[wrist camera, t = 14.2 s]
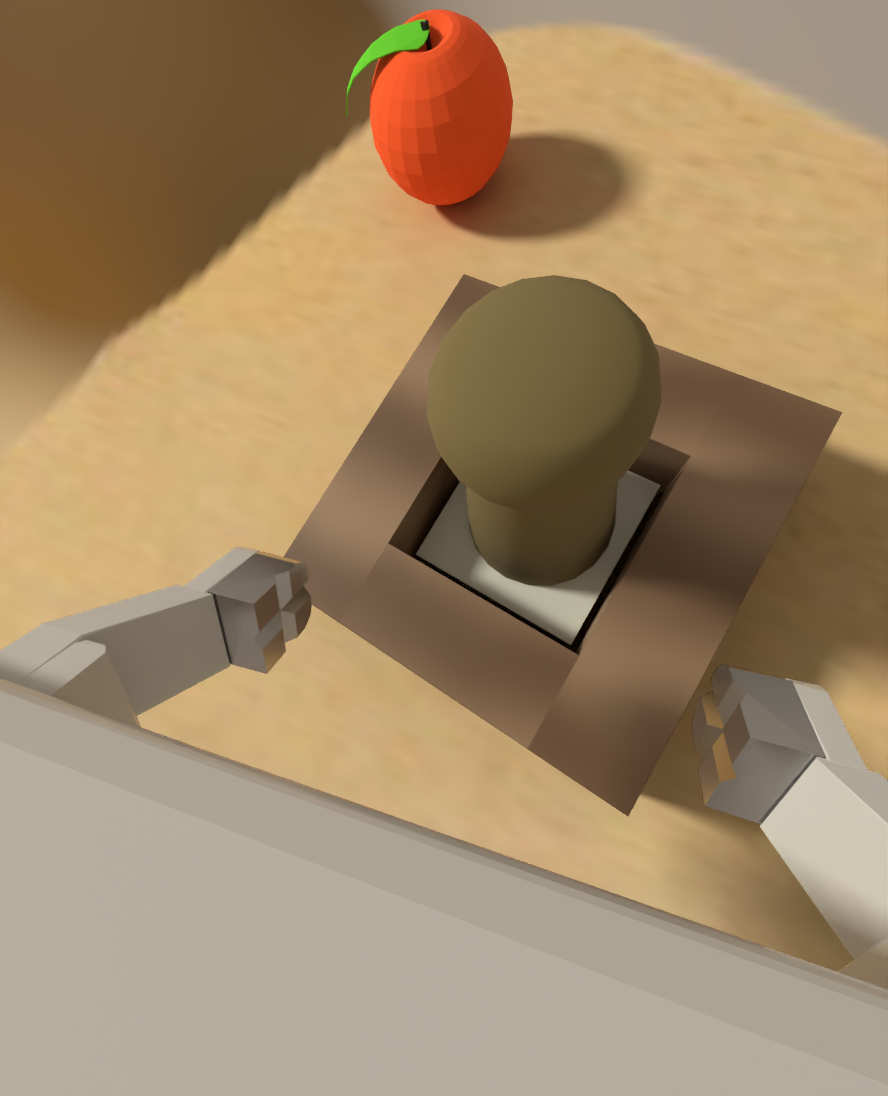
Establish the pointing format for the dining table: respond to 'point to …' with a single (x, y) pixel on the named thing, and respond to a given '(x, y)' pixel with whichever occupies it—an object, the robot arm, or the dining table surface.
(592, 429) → the olive pepper mill
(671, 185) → the dining table surface
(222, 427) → the dining table surface
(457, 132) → the clementine
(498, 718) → the socket block
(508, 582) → the cream square tile
